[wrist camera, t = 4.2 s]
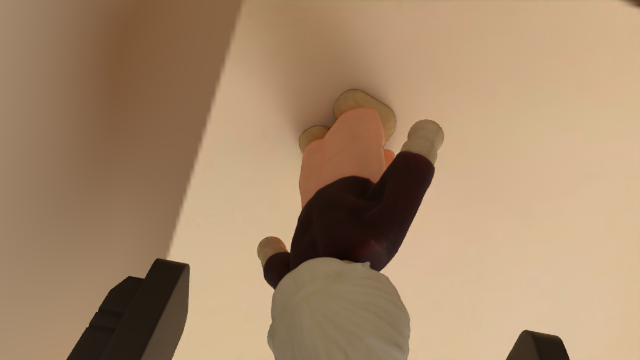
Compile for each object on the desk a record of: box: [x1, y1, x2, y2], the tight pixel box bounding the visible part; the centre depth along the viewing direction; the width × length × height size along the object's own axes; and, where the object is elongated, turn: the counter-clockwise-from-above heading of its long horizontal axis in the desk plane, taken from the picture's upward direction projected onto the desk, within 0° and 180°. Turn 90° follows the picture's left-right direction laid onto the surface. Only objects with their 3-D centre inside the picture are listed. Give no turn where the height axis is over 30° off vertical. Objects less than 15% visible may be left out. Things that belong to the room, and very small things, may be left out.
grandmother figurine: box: [257, 90, 444, 360], centre depth 16 cm, size 8×4×13 cm, turn 147°
